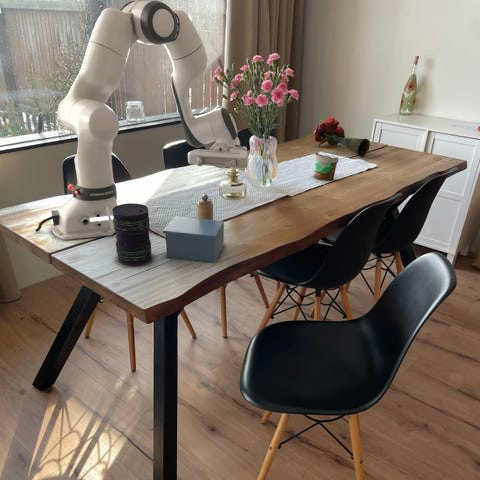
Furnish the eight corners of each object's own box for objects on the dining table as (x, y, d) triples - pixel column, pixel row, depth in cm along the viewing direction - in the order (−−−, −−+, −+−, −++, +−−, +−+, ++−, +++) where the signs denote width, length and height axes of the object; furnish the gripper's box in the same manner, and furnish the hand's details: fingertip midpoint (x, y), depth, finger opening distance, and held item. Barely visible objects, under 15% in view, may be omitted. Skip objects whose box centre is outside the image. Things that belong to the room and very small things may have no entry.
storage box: (166, 257, 142) (165, 233, 139) (178, 241, 153) (177, 219, 149) (215, 262, 141) (215, 238, 137) (223, 245, 151) (224, 223, 147)
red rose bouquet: (361, 171, 257) (313, 153, 278) (382, 144, 257) (334, 128, 279) (352, 150, 244) (304, 133, 266) (375, 123, 245) (325, 108, 267)
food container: (305, 176, 218) (308, 153, 213) (314, 174, 222) (317, 151, 216) (326, 183, 211) (329, 159, 205) (335, 180, 214) (339, 157, 209)
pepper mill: (201, 240, 154) (201, 197, 146) (194, 234, 157) (194, 193, 150) (215, 237, 156) (216, 195, 149) (208, 232, 160) (208, 190, 152)
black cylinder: (112, 264, 137) (106, 213, 129) (124, 250, 145) (119, 201, 137) (146, 267, 136) (142, 217, 128) (156, 253, 144) (153, 204, 136)
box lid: (162, 233, 139) (162, 230, 138) (174, 218, 149) (174, 216, 148) (215, 238, 137) (215, 235, 136) (224, 223, 147) (224, 220, 146)
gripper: (192, 142, 167) (182, 152, 156) (251, 147, 165) (244, 157, 153) (193, 161, 171) (182, 172, 159) (250, 165, 168) (244, 177, 157)
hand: (213, 164), depth 156 cm, fingers open, 8 cm apart
